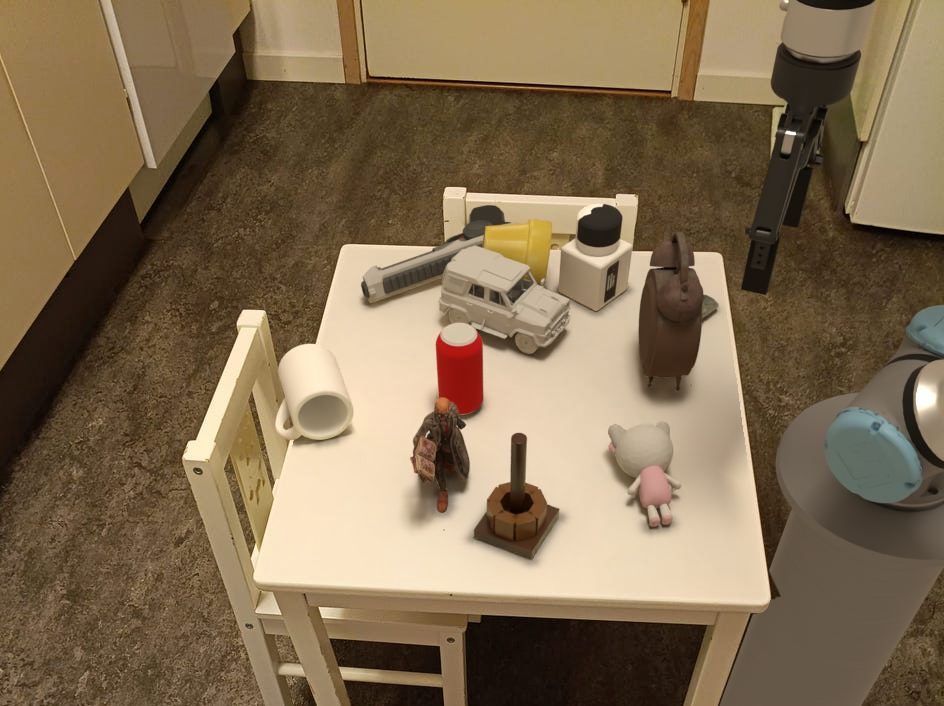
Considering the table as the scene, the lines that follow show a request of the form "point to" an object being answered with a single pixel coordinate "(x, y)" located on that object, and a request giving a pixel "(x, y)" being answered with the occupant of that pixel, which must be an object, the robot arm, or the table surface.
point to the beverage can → (460, 366)
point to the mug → (312, 394)
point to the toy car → (502, 299)
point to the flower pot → (522, 244)
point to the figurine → (441, 448)
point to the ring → (520, 523)
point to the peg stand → (517, 506)
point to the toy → (647, 465)
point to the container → (595, 258)
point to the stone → (708, 305)
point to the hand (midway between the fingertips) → (770, 256)
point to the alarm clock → (670, 312)
